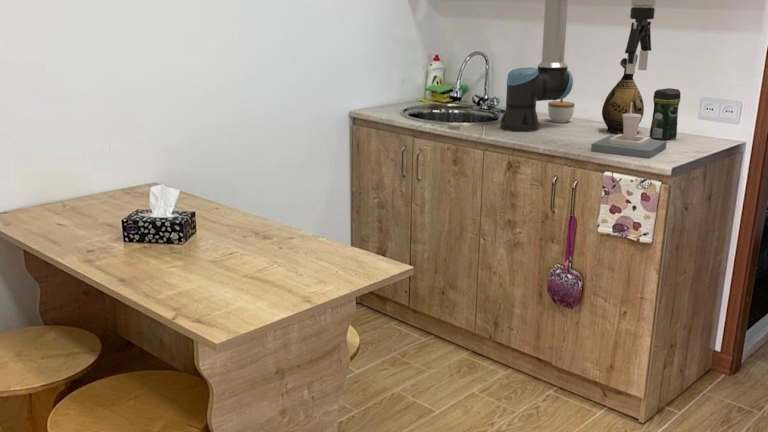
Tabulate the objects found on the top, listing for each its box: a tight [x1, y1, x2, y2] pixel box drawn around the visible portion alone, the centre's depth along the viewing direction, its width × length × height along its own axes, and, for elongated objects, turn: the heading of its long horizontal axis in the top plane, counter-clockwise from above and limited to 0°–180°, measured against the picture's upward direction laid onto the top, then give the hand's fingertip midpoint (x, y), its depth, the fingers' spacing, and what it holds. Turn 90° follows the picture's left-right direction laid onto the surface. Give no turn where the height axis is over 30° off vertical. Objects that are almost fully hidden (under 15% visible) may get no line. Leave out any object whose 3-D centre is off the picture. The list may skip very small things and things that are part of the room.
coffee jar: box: [649, 87, 682, 141], centre depth 285 cm, size 10×8×19 cm
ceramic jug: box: [601, 52, 645, 134], centre depth 297 cm, size 17×15×30 cm
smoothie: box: [622, 102, 642, 141], centre depth 265 cm, size 6×6×14 cm
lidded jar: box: [547, 98, 575, 124], centre depth 320 cm, size 11×11×9 cm
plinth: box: [590, 133, 668, 159], centre depth 267 cm, size 20×20×4 cm
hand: (636, 72), depth 260 cm, fingers open, 13 cm apart
